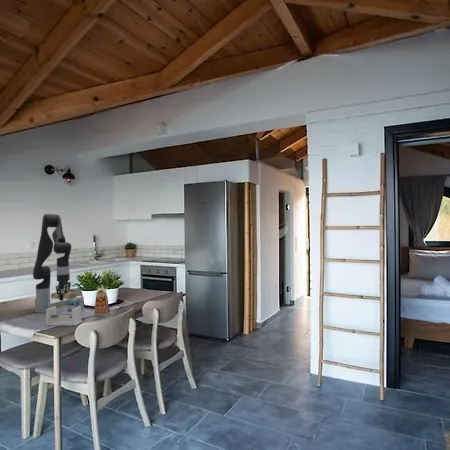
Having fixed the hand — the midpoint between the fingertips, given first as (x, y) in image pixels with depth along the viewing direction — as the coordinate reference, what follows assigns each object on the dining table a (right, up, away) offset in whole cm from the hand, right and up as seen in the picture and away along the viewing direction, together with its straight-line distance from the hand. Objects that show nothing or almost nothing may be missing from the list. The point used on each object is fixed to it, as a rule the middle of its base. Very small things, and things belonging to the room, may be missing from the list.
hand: (63, 299), depth 228 cm
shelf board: (0, +1, 0) cm, 1 cm away
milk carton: (+17, -15, +21) cm, 32 cm away
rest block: (-2, -15, +10) cm, 19 cm away
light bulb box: (-5, -15, +30) cm, 34 cm away
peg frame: (0, -15, 0) cm, 15 cm away
